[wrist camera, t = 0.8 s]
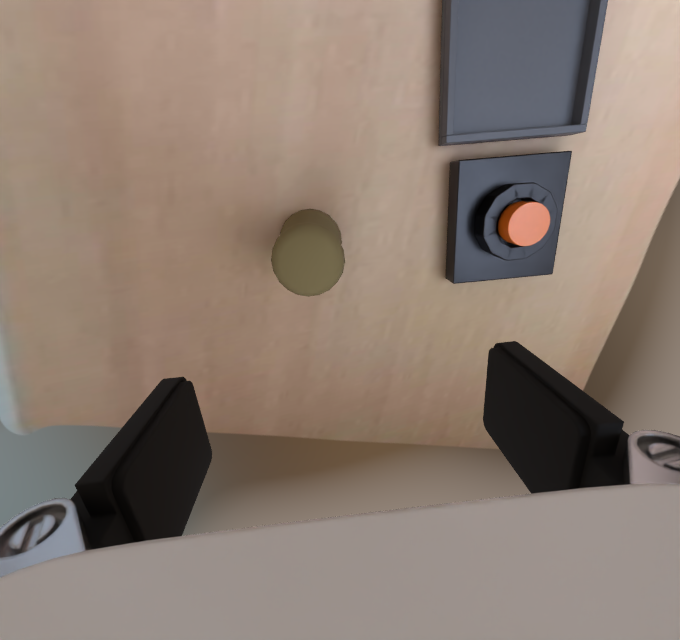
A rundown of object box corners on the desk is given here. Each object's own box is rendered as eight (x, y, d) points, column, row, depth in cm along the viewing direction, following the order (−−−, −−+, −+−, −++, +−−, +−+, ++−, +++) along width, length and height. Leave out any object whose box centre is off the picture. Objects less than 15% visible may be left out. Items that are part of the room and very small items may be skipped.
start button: (499, 203, 29) (510, 203, 27) (540, 199, 29) (553, 200, 27) (495, 245, 30) (506, 248, 28) (534, 241, 30) (547, 244, 29)
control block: (449, 162, 31) (467, 158, 27) (555, 153, 31) (588, 148, 27) (445, 278, 35) (460, 289, 31) (539, 269, 35) (565, 278, 31)
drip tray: (444, -85, 25) (454, -108, 23) (605, -95, 25) (628, -118, 23) (438, 146, 30) (446, 143, 28) (569, 135, 30) (586, 131, 29)
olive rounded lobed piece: (350, 221, 32) (365, 236, 22) (330, 279, 34) (335, 318, 24) (289, 199, 31) (275, 204, 21) (272, 261, 33) (252, 292, 23)
